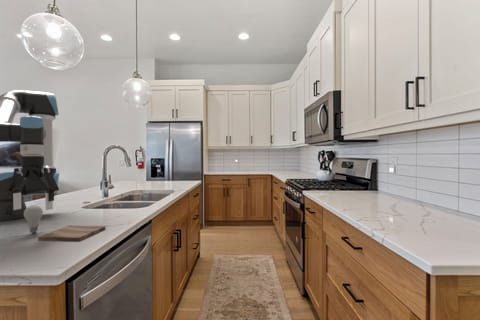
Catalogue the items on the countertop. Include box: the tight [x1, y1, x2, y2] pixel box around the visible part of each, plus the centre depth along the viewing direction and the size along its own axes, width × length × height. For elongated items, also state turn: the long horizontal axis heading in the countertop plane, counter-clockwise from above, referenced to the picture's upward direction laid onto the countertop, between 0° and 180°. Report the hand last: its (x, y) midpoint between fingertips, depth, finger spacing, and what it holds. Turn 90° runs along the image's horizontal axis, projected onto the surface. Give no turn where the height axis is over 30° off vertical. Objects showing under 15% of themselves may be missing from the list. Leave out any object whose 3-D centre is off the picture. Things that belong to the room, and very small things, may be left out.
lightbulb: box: [24, 205, 44, 234], centre depth 109 cm, size 6×6×11 cm
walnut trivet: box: [37, 224, 106, 242], centre depth 108 cm, size 16×16×1 cm
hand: (33, 209), depth 109 cm, fingers open, 13 cm apart
